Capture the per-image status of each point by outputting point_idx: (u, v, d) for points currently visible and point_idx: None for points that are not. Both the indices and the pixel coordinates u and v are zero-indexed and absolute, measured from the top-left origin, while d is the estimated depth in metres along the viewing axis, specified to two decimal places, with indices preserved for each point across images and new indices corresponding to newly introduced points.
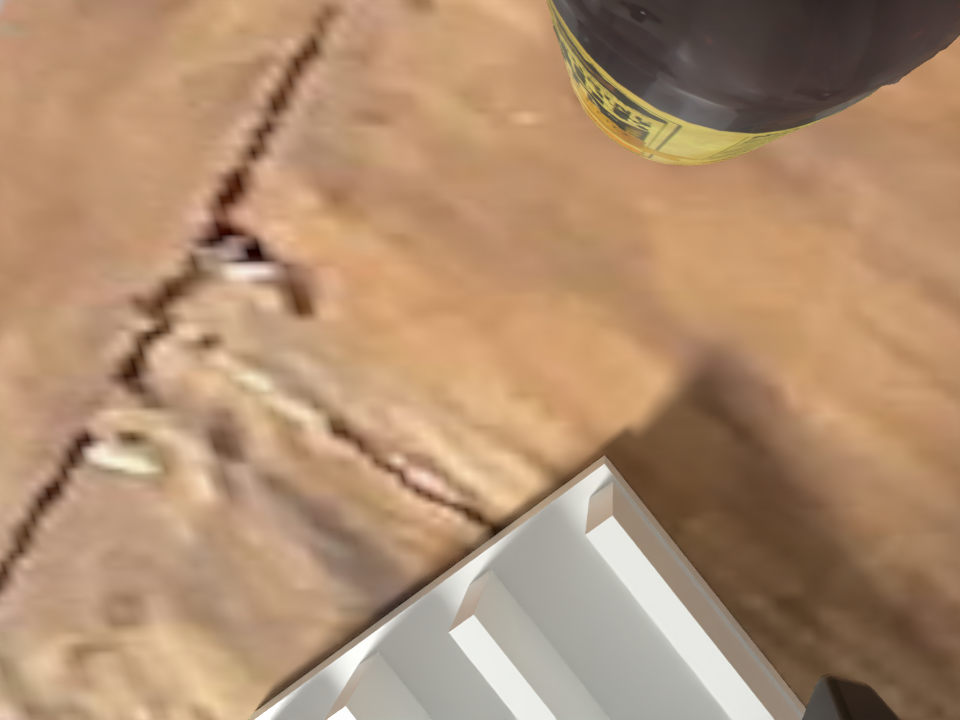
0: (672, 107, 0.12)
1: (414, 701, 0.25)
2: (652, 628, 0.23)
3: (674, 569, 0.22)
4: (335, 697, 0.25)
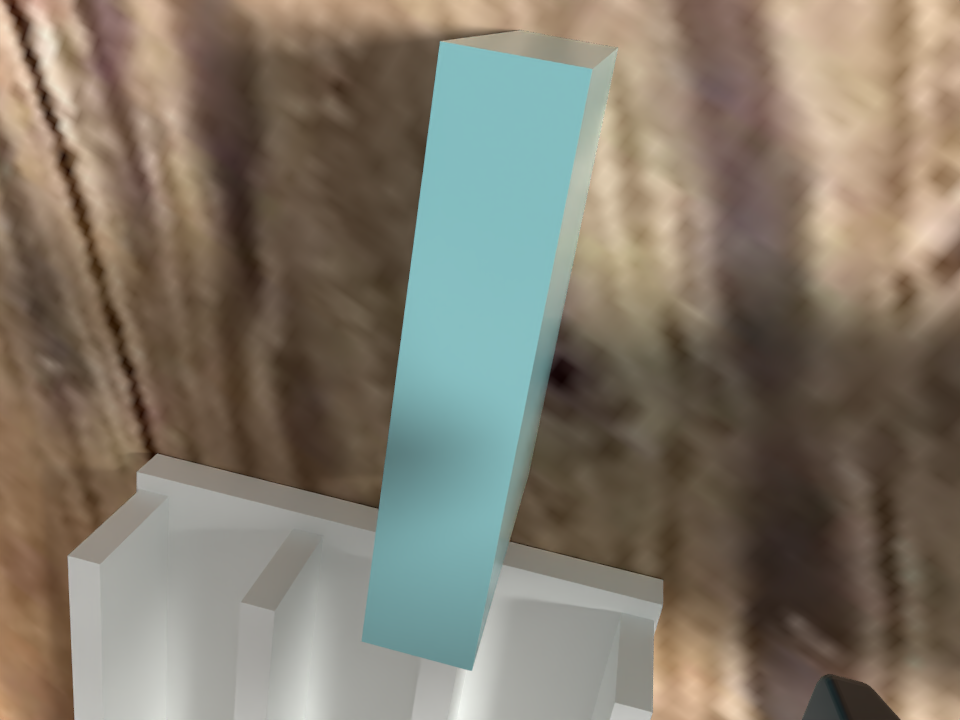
0: None
1: None
2: None
3: None
4: None
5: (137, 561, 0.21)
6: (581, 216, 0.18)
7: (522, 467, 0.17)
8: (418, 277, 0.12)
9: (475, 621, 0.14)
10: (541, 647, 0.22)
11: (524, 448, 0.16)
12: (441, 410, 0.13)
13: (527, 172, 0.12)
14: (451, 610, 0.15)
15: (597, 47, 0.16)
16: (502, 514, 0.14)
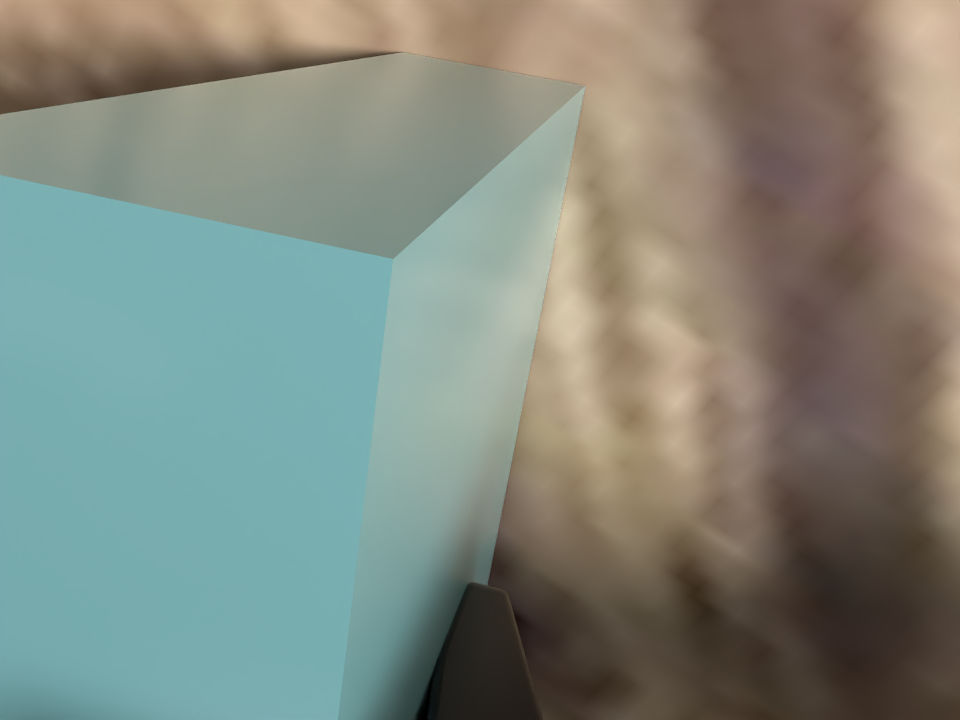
0: None
1: None
2: None
3: None
4: None
5: None
6: (519, 395, 0.10)
7: None
8: None
9: None
10: None
11: None
12: None
13: (209, 581, 0.03)
14: None
15: (535, 91, 0.08)
16: None
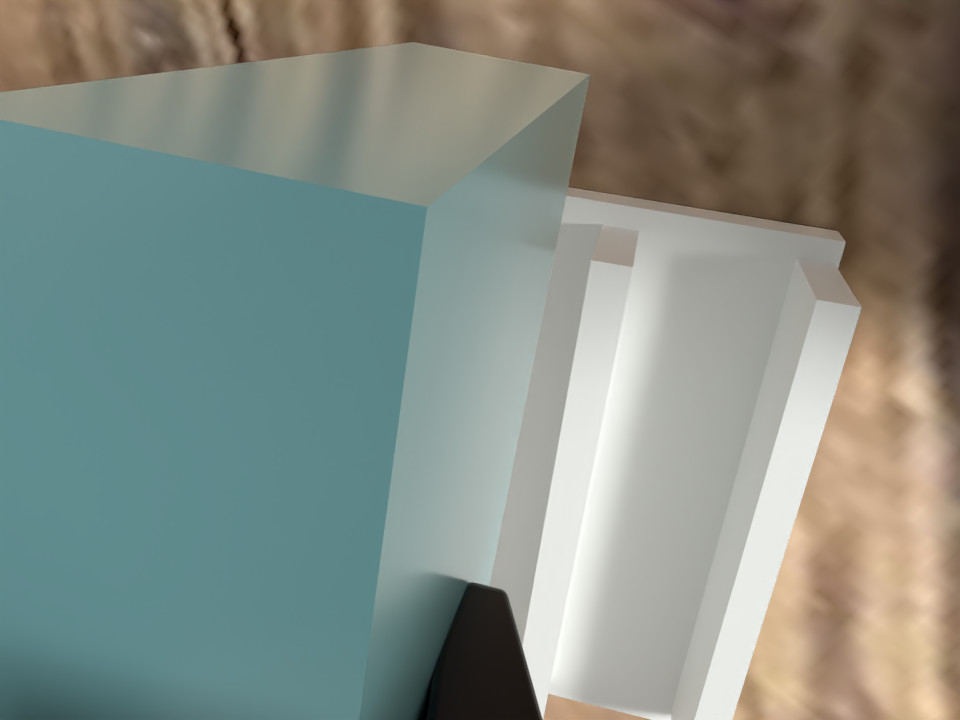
0: None
1: None
2: None
3: None
4: (592, 679, 0.24)
5: None
6: (525, 375, 0.10)
7: None
8: None
9: None
10: (701, 314, 0.20)
11: None
12: None
13: (253, 511, 0.04)
14: None
15: (543, 78, 0.08)
16: None
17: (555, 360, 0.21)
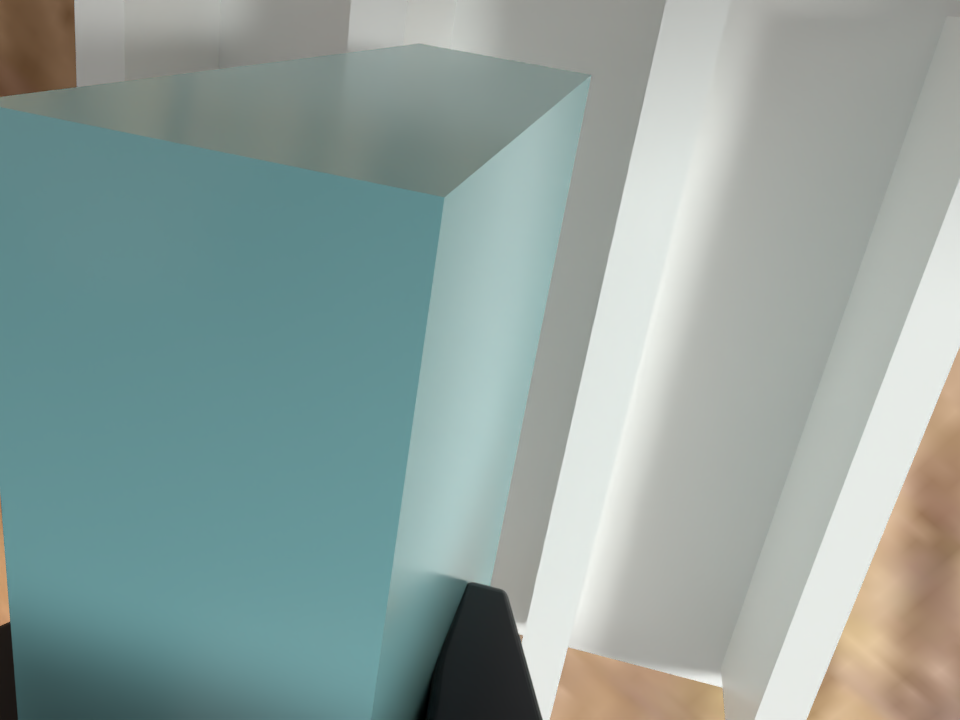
0: None
1: (541, 556, 0.18)
2: None
3: None
4: (620, 627, 0.18)
5: None
6: (528, 368, 0.10)
7: None
8: (39, 699, 0.05)
9: None
10: (803, 107, 0.14)
11: None
12: None
13: (278, 486, 0.04)
14: None
15: (546, 78, 0.08)
16: None
17: (594, 178, 0.15)
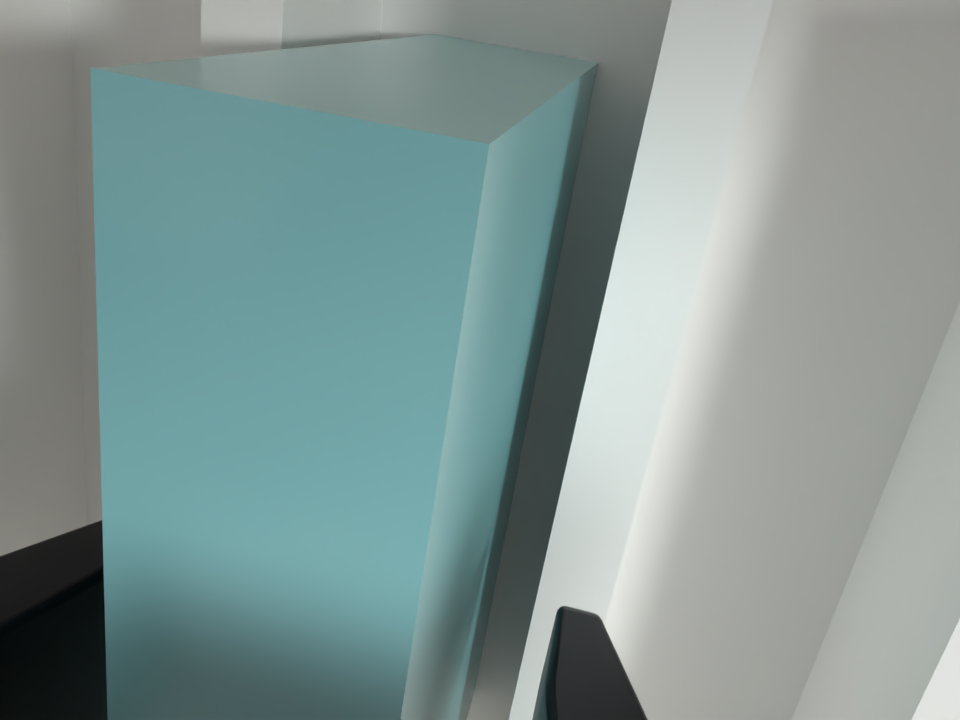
0: None
1: (511, 707, 0.14)
2: None
3: None
4: None
5: None
6: (540, 338, 0.11)
7: None
8: (126, 597, 0.05)
9: None
10: (863, 141, 0.10)
11: None
12: None
13: (344, 395, 0.05)
14: None
15: (557, 64, 0.09)
16: None
17: (574, 235, 0.11)
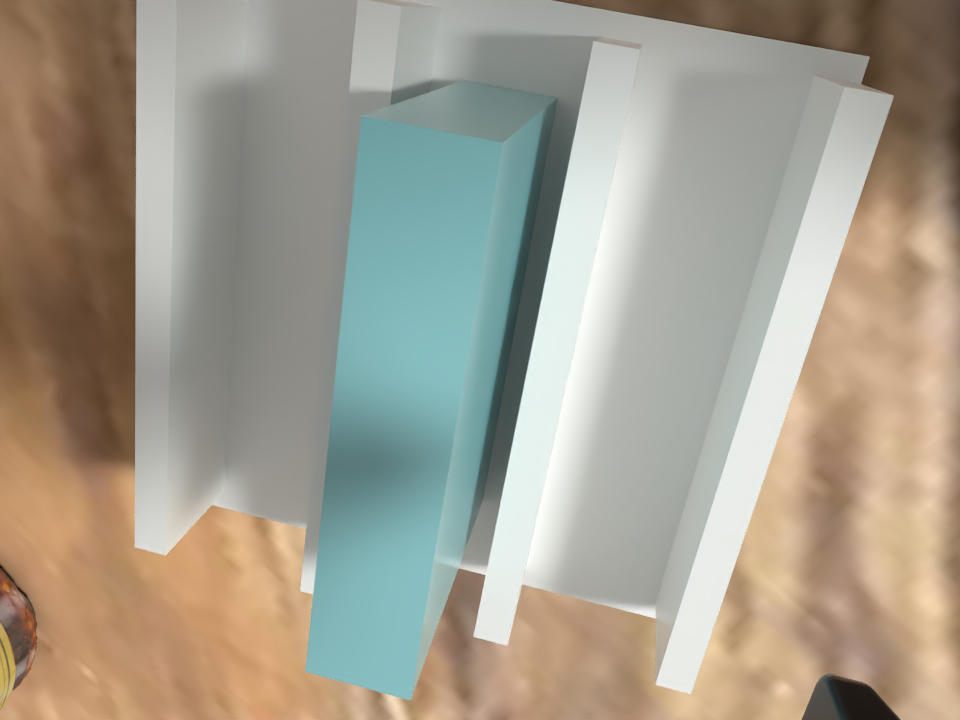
0: None
1: None
2: (263, 369, 0.22)
3: None
4: (572, 568, 0.22)
5: (215, 25, 0.17)
6: (524, 258, 0.19)
7: (464, 501, 0.17)
8: (348, 331, 0.13)
9: (412, 653, 0.15)
10: (707, 143, 0.18)
11: (463, 485, 0.17)
12: (373, 455, 0.14)
13: (446, 236, 0.12)
14: (389, 644, 0.15)
15: (533, 101, 0.17)
16: (434, 553, 0.14)
17: (545, 198, 0.19)
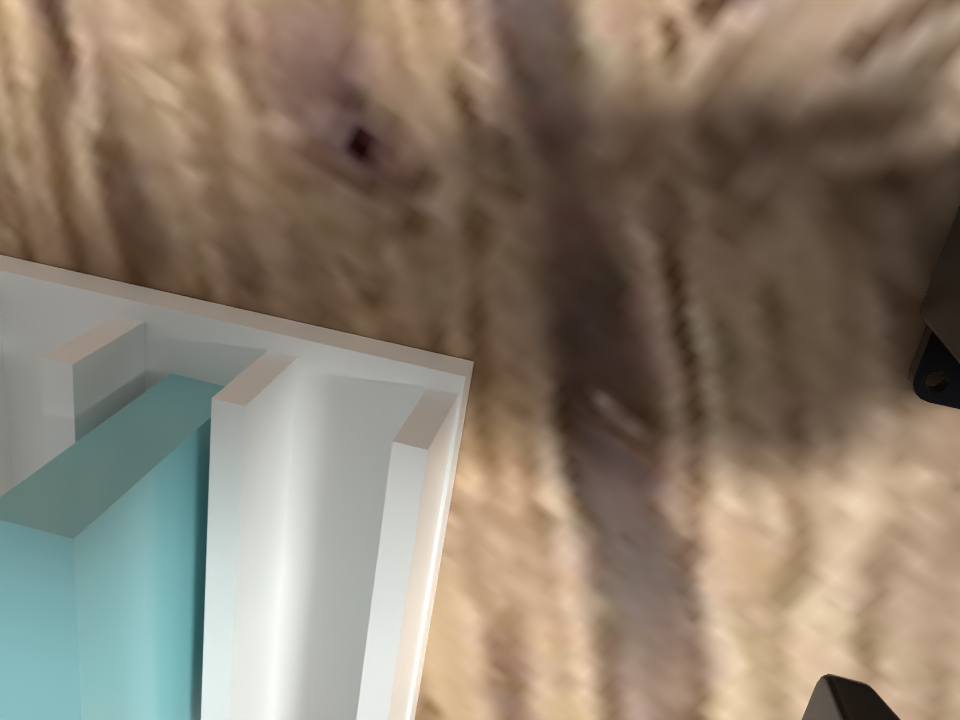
0: None
1: None
2: None
3: None
4: None
5: None
6: None
7: (158, 719, 0.22)
8: None
9: None
10: (357, 429, 0.22)
11: (144, 715, 0.21)
12: None
13: (49, 592, 0.17)
14: None
15: (202, 411, 0.21)
16: None
17: None
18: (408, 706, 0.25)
